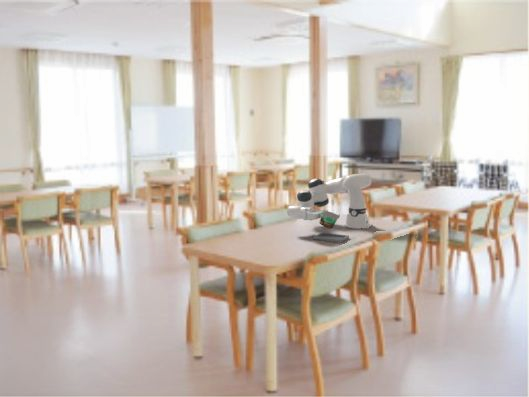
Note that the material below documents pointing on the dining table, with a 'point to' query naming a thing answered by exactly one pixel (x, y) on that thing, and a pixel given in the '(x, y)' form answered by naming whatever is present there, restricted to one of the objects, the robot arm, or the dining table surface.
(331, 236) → the tray
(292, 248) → the dining table surface
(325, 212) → the food container
